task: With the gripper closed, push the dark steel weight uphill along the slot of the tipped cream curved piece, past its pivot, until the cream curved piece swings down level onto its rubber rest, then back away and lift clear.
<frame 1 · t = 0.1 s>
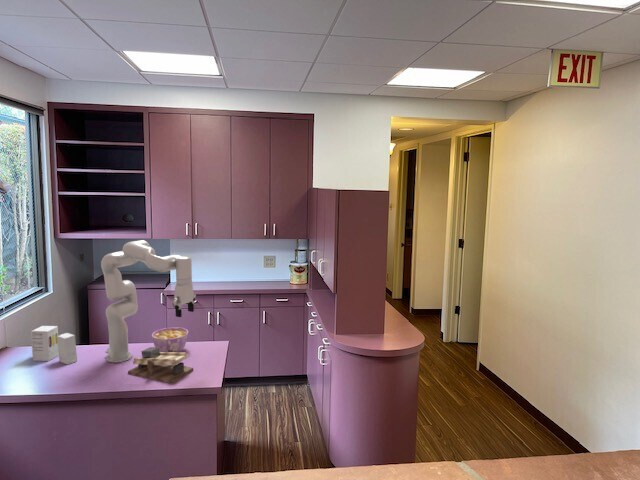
hand: (184, 314, 218), 31 cm above the worktop, tool pointing down, fingers open, 9 cm apart
supplement box: (46, 358, 237), on the worktop
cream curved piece: (160, 358, 221), point 8 cm above the worktop, hinge at -8.6°, touching weight
stand: (161, 372, 222), on the worktop
bowl of food: (170, 352, 247), on the worktop
weight: (151, 357, 223), point 7 cm above the worktop, tilted 9°, touching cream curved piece
skincare box: (67, 361, 232), on the worktop
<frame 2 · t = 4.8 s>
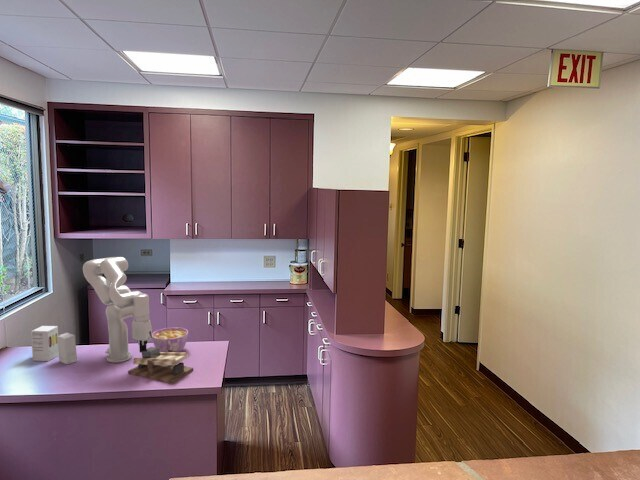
hand: (143, 351, 224), 9 cm above the worktop, tool pointing down, fingers closed
weight: (151, 357, 223), point 7 cm above the worktop, tilted 9°, touching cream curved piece, gripper
everything else where it was.
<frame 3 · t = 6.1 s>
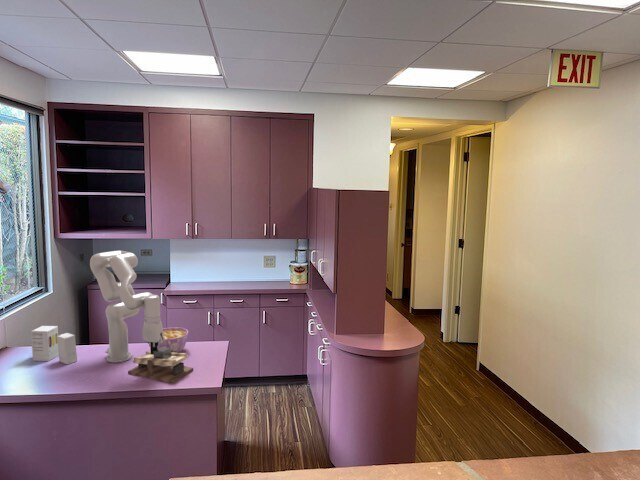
hand: (154, 353, 222), 10 cm above the worktop, tool pointing down, fingers closed
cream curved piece: (160, 358, 221), point 8 cm above the worktop, hinge at -6.7°, touching weight
weight: (163, 357, 220), point 8 cm above the worktop, tilted 7°, touching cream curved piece
everything else where it was.
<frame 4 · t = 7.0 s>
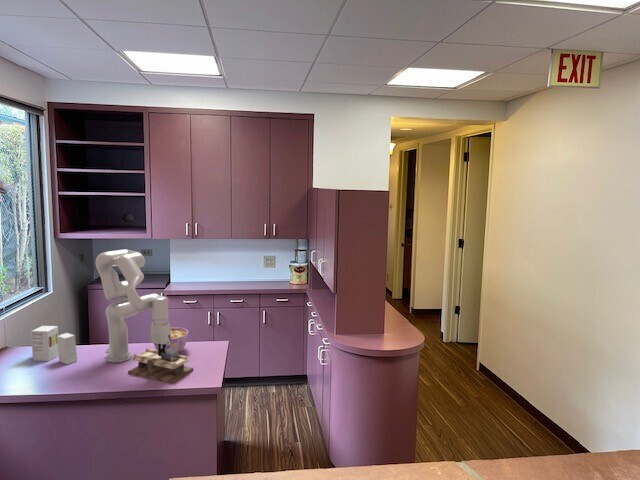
hand: (161, 355, 220), 9 cm above the worktop, tool pointing down, fingers closed
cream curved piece: (160, 358, 221), point 8 cm above the worktop, hinge at 0.6°
weight: (170, 359, 219), point 8 cm above the worktop, touching gripper
everything else where it was.
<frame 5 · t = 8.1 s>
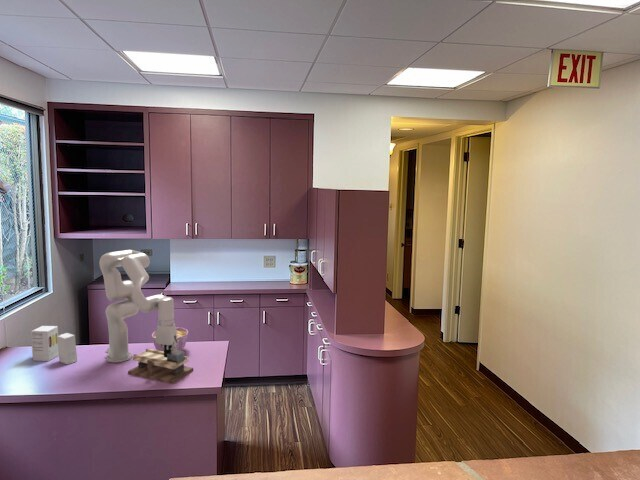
hand: (167, 356, 219), 9 cm above the worktop, tool pointing down, fingers closed
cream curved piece: (160, 358, 221), point 8 cm above the worktop, hinge at 0.8°, touching weight
weight: (176, 361, 217), point 8 cm above the worktop, touching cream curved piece, gripper
everything else where it was.
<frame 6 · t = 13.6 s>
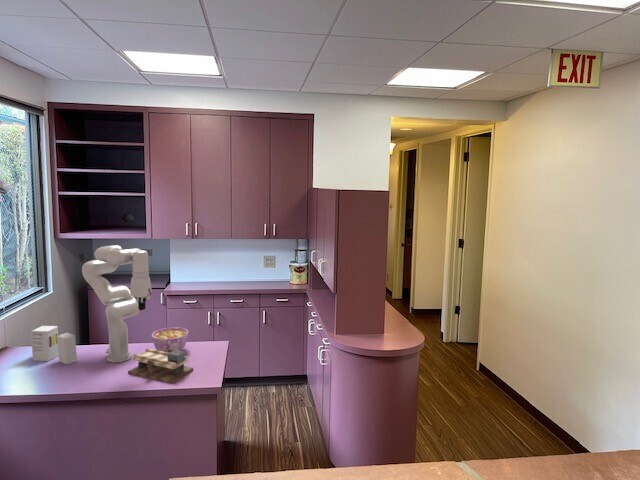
hand: (142, 309, 221), 32 cm above the worktop, tool pointing down, fingers closed
weight: (176, 361, 217), point 8 cm above the worktop, touching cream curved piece
everything else where it was.
at the end: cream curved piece at +1° (first picture: -9°); weight inside the target area on the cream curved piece (1.8 cm from its centre), point 0.6 cm above the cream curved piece's base; the gripper is holding nothing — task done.
